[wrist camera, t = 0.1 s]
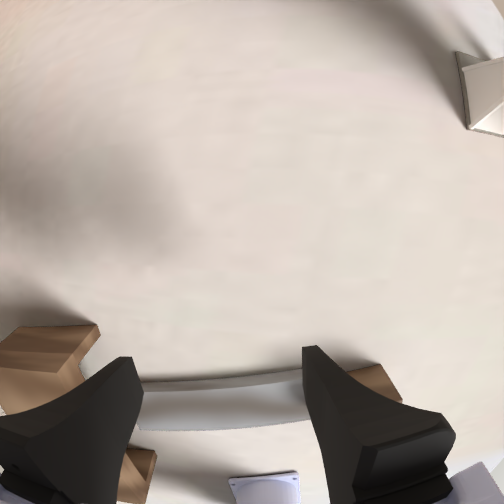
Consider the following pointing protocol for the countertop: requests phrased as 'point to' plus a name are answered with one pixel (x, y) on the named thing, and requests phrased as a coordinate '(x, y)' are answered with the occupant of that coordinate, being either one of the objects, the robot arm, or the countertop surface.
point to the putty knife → (239, 400)
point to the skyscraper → (482, 93)
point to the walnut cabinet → (61, 387)
